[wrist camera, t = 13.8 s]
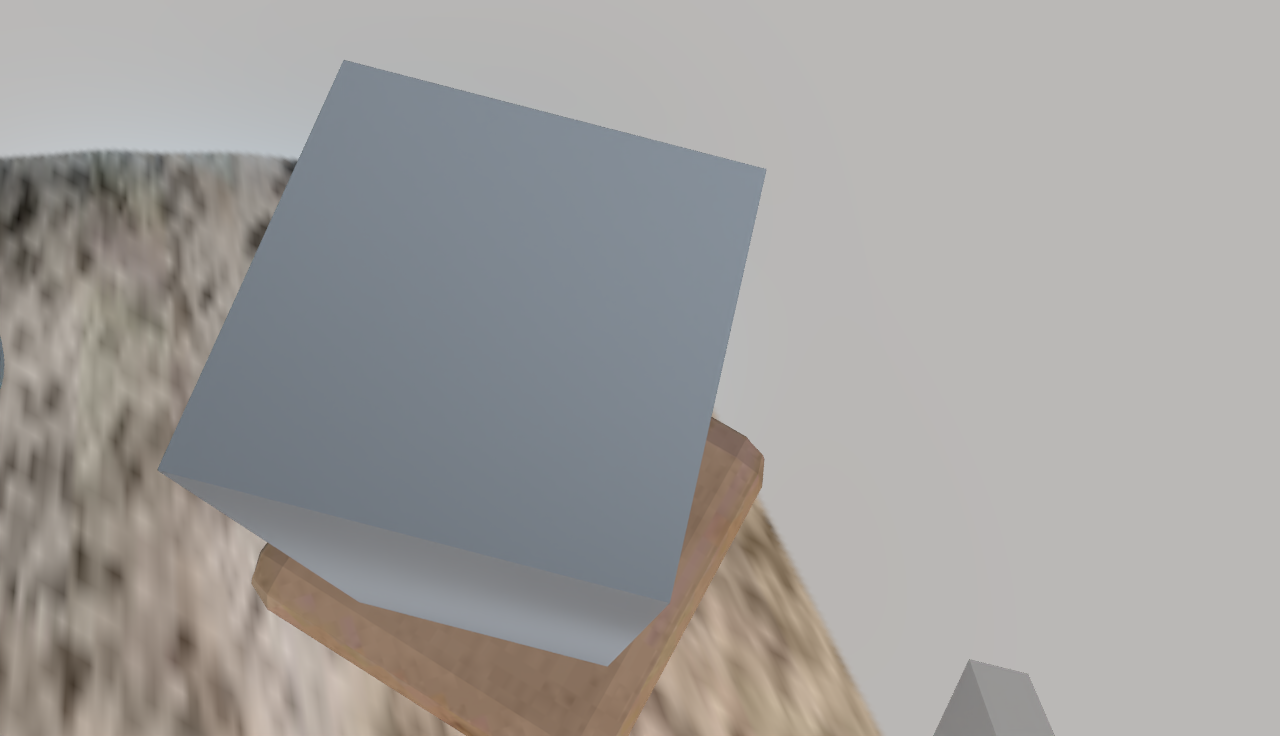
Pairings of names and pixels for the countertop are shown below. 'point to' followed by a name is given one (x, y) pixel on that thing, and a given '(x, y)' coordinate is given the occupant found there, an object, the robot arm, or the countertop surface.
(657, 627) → the wooden block
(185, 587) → the countertop surface
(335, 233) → the slate block
